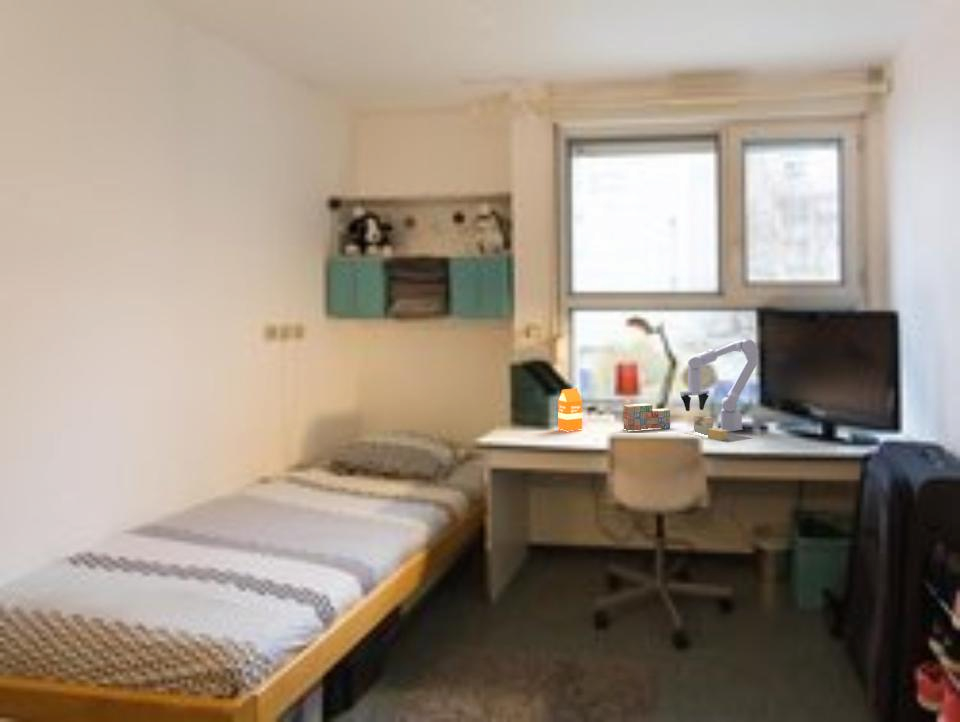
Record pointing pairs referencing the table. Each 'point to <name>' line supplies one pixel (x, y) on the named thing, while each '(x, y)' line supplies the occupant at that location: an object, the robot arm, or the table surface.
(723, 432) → the ochre brick
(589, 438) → the table surface
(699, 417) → the birch brick
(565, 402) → the orange juice
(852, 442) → the table surface
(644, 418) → the stack of blocks
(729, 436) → the desk mat
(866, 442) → the table surface
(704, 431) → the sage brick
